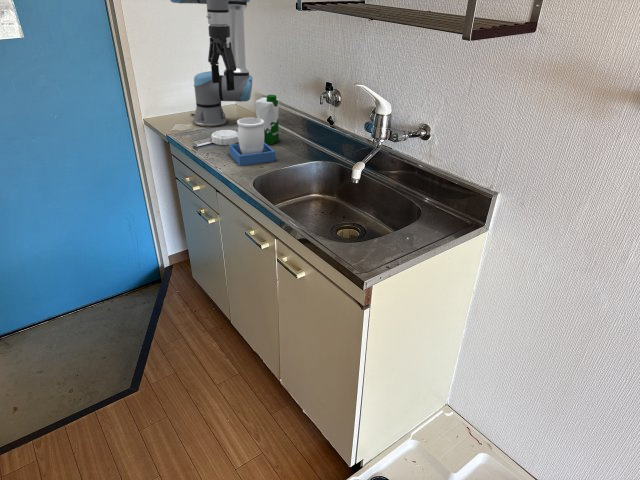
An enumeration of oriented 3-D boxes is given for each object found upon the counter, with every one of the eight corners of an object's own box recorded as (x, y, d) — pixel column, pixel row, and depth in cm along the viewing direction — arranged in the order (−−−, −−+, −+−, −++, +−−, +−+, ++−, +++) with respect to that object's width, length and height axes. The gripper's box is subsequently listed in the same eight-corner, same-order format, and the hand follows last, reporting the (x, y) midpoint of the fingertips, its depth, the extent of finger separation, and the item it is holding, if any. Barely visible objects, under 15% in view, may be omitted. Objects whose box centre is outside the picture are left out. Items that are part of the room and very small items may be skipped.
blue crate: (229, 154, 192) (228, 145, 190) (263, 150, 198) (262, 140, 196) (240, 166, 182) (239, 156, 180) (275, 161, 188) (275, 151, 186)
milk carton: (272, 145, 203) (271, 98, 193) (254, 142, 206) (252, 96, 196) (281, 140, 210) (281, 94, 200) (263, 137, 213) (262, 91, 203)
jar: (260, 163, 184) (259, 126, 177) (235, 160, 186) (232, 123, 179) (268, 154, 194) (267, 118, 186) (244, 152, 195) (242, 116, 188)
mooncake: (228, 147, 199) (228, 139, 198) (206, 142, 204) (205, 134, 202) (245, 139, 209) (244, 131, 207) (223, 135, 213) (222, 127, 211)
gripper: (196, 21, 175) (201, 80, 185) (223, 29, 157) (227, 94, 168) (215, 21, 178) (219, 79, 189) (243, 29, 161) (246, 92, 171)
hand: (223, 86), depth 178 cm, fingers open, 13 cm apart
